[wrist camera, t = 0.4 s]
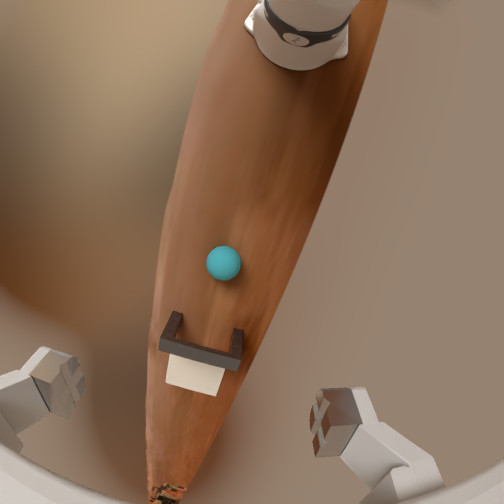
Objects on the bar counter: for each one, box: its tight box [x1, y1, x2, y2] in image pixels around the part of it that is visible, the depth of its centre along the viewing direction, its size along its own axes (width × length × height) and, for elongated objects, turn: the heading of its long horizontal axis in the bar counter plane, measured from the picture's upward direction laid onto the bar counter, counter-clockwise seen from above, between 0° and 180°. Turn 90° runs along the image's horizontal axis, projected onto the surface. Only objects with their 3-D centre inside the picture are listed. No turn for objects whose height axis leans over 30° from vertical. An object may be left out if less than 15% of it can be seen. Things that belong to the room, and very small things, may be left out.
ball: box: [206, 246, 241, 280], centre depth 50 cm, size 6×6×6 cm
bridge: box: [158, 311, 243, 371], centre depth 53 cm, size 3×15×10 cm, turn 74°
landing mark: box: [166, 354, 225, 396], centre depth 62 cm, size 13×13×1 cm
